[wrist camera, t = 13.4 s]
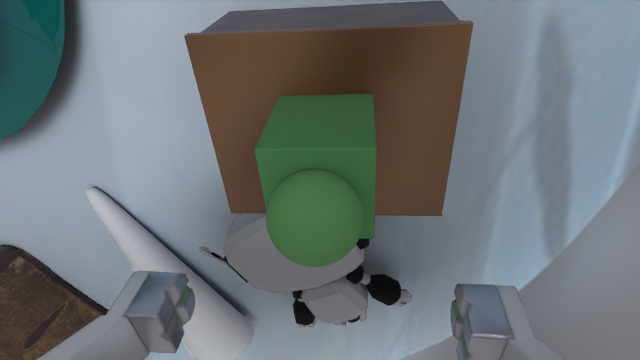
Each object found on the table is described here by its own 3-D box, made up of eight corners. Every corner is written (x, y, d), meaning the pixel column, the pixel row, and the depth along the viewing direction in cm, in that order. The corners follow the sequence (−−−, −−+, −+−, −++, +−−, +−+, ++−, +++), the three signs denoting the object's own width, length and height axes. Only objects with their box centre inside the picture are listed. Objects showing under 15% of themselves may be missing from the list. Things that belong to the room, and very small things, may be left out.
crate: (446, -5, 20) (473, 22, 15) (427, 159, 26) (441, 216, 21) (224, 7, 21) (183, 35, 17) (254, 160, 27) (231, 213, 23)
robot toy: (416, 273, 34) (342, 153, 26) (424, 319, 30) (341, 196, 22) (302, 303, 38) (208, 208, 30) (297, 346, 35) (189, 252, 27)
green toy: (373, 93, 17) (379, 201, 11) (372, 172, 20) (375, 298, 13) (278, 95, 18) (229, 199, 11) (289, 172, 20) (254, 293, 14)
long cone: (161, 155, 30) (262, 316, 38) (106, 172, 32) (213, 320, 41) (112, 194, 25) (240, 369, 34) (52, 210, 28) (185, 369, 36)
